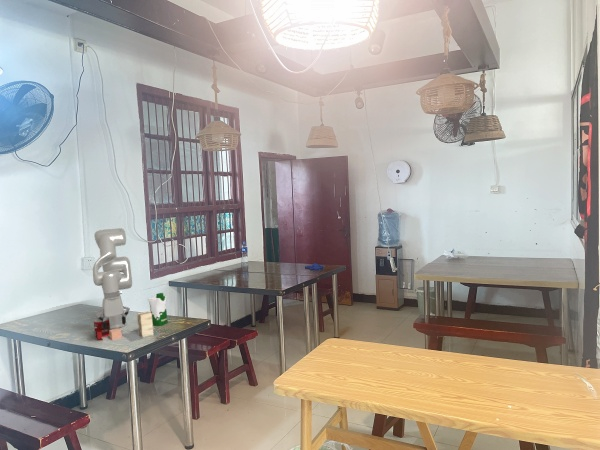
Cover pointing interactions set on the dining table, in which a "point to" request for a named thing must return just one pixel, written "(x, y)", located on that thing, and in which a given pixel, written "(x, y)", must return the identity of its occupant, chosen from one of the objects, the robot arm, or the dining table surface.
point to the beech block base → (145, 330)
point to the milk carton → (158, 309)
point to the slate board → (137, 335)
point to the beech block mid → (144, 318)
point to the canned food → (101, 329)
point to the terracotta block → (115, 334)
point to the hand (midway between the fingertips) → (114, 326)
